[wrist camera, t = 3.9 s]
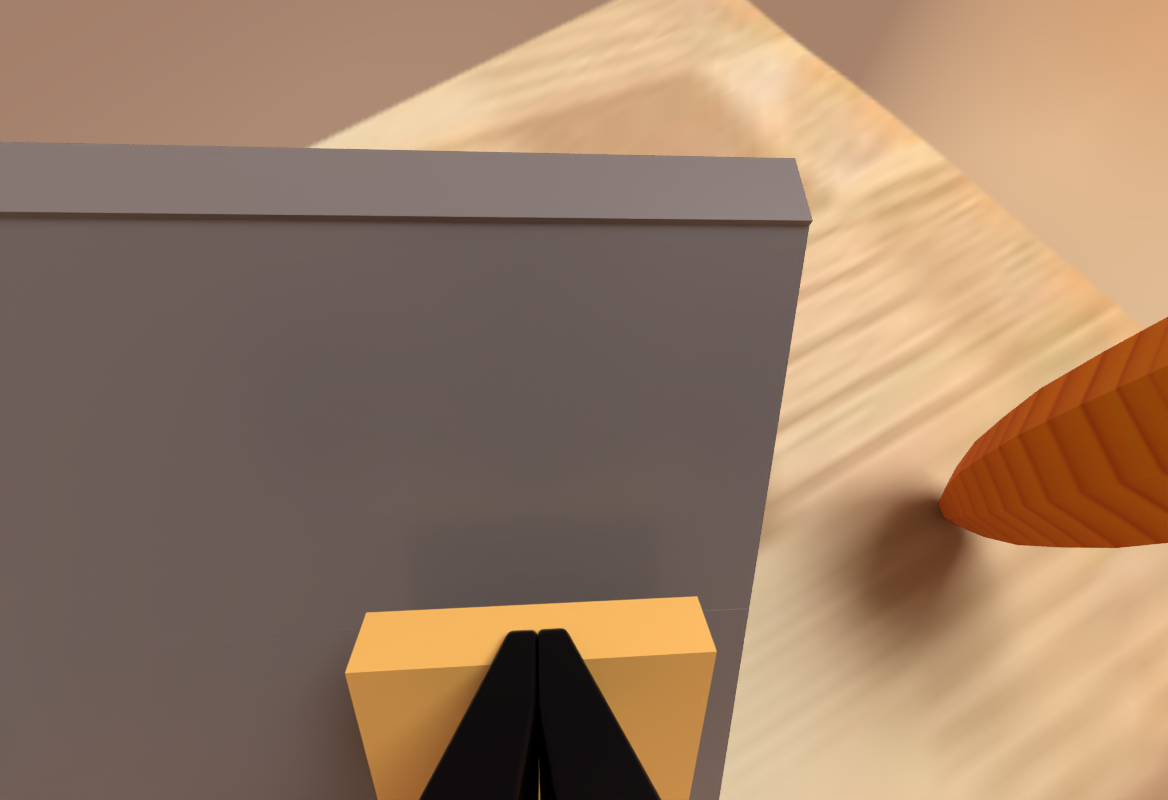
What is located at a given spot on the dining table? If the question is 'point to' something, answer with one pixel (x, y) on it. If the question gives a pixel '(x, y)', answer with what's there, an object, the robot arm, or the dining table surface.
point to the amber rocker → (467, 648)
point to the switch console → (359, 432)
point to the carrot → (1076, 457)
